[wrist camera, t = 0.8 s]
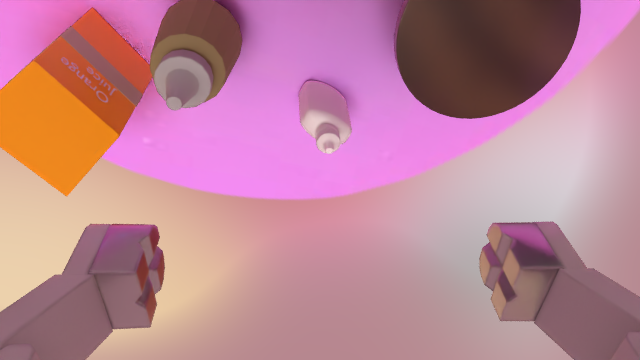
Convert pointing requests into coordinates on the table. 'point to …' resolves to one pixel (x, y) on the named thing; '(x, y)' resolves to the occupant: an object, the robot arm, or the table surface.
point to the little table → (482, 51)
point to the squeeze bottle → (194, 52)
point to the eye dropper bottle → (324, 115)
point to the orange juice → (72, 101)
